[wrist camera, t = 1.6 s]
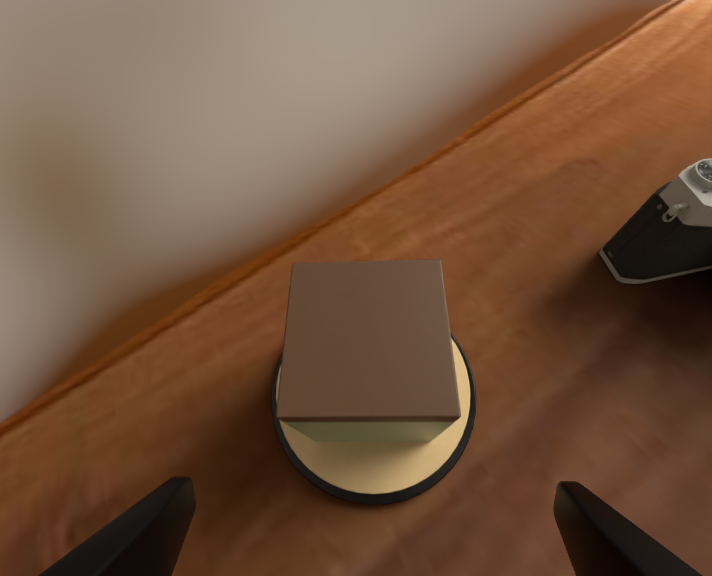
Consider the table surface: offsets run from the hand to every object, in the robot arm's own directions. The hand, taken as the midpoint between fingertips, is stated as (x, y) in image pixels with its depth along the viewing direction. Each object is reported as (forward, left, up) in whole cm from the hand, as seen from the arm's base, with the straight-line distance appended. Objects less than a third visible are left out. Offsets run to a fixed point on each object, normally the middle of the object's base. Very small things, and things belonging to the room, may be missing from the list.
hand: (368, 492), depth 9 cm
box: (+5, +2, -11) cm, 12 cm away
